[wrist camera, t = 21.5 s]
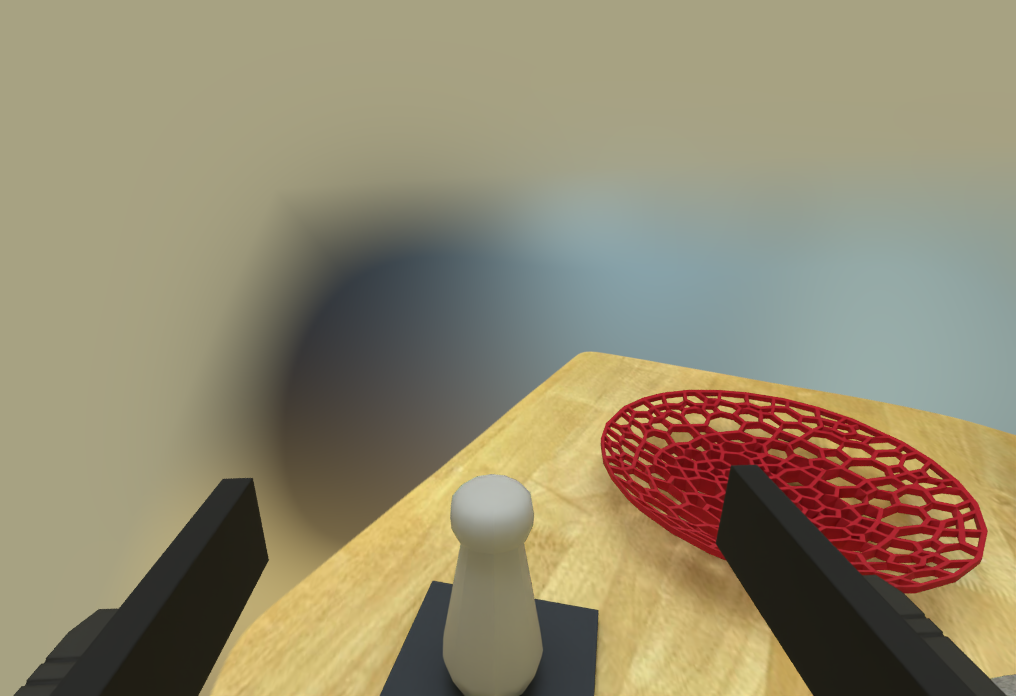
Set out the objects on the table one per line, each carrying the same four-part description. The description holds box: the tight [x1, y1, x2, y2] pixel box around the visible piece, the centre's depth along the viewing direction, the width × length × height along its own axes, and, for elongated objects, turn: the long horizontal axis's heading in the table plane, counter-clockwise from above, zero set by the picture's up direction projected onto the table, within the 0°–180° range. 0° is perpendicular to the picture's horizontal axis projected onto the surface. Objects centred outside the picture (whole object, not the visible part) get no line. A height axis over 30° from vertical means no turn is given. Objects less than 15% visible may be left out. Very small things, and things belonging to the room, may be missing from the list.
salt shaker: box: [443, 474, 543, 696], centre depth 27 cm, size 6×6×13 cm
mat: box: [380, 581, 598, 696], centre depth 30 cm, size 12×12×1 cm
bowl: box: [601, 390, 988, 593], centre depth 45 cm, size 30×30×5 cm
